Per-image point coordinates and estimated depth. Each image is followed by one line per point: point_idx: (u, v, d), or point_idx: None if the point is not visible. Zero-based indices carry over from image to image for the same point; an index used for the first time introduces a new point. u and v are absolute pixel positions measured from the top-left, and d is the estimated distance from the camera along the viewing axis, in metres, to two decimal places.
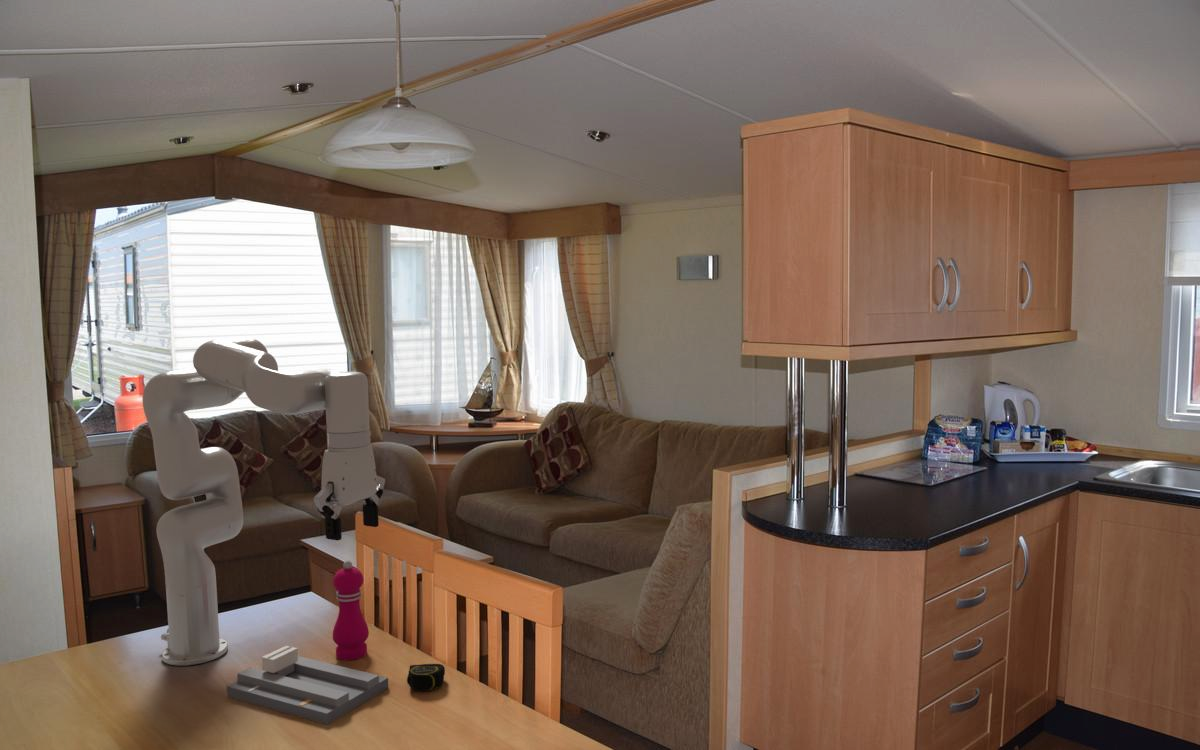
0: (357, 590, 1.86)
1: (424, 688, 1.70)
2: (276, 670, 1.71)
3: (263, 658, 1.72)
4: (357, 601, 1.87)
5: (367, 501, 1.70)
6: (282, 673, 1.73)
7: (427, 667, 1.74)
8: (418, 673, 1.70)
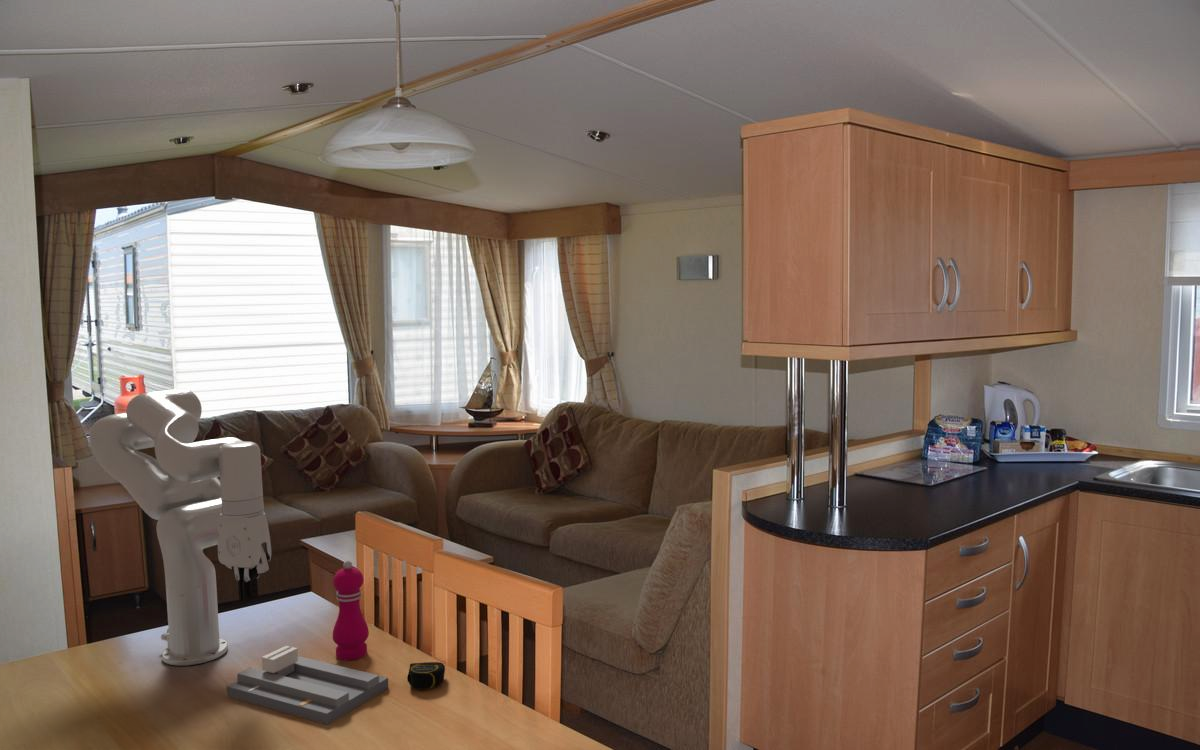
0: (357, 590, 1.86)
1: (424, 686, 1.70)
2: (276, 670, 1.71)
3: (263, 658, 1.72)
4: (357, 601, 1.87)
5: (242, 573, 1.76)
6: (282, 673, 1.73)
7: (427, 665, 1.74)
8: (419, 672, 1.71)
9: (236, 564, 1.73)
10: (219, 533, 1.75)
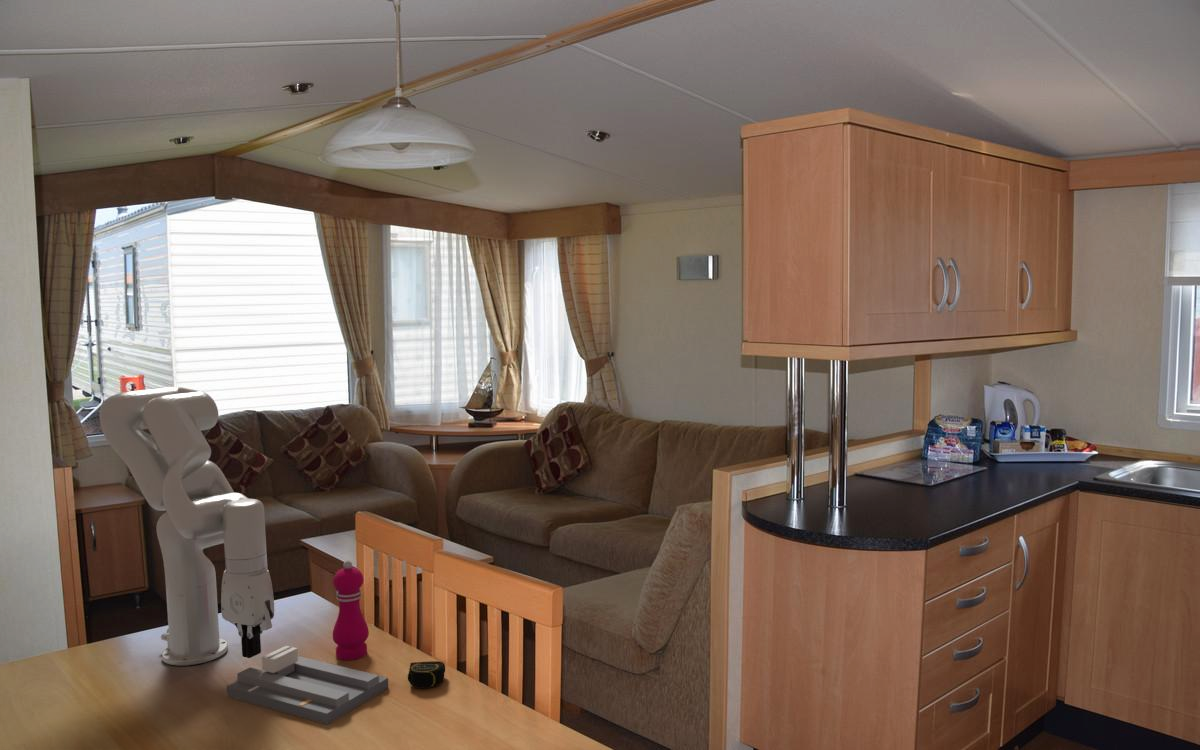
0: (357, 590, 1.86)
1: (425, 685, 1.71)
2: (276, 670, 1.71)
3: (263, 658, 1.72)
4: (357, 601, 1.87)
5: (245, 629, 1.77)
6: (282, 673, 1.73)
7: (428, 664, 1.75)
8: (419, 671, 1.72)
9: (239, 621, 1.74)
10: (223, 590, 1.76)
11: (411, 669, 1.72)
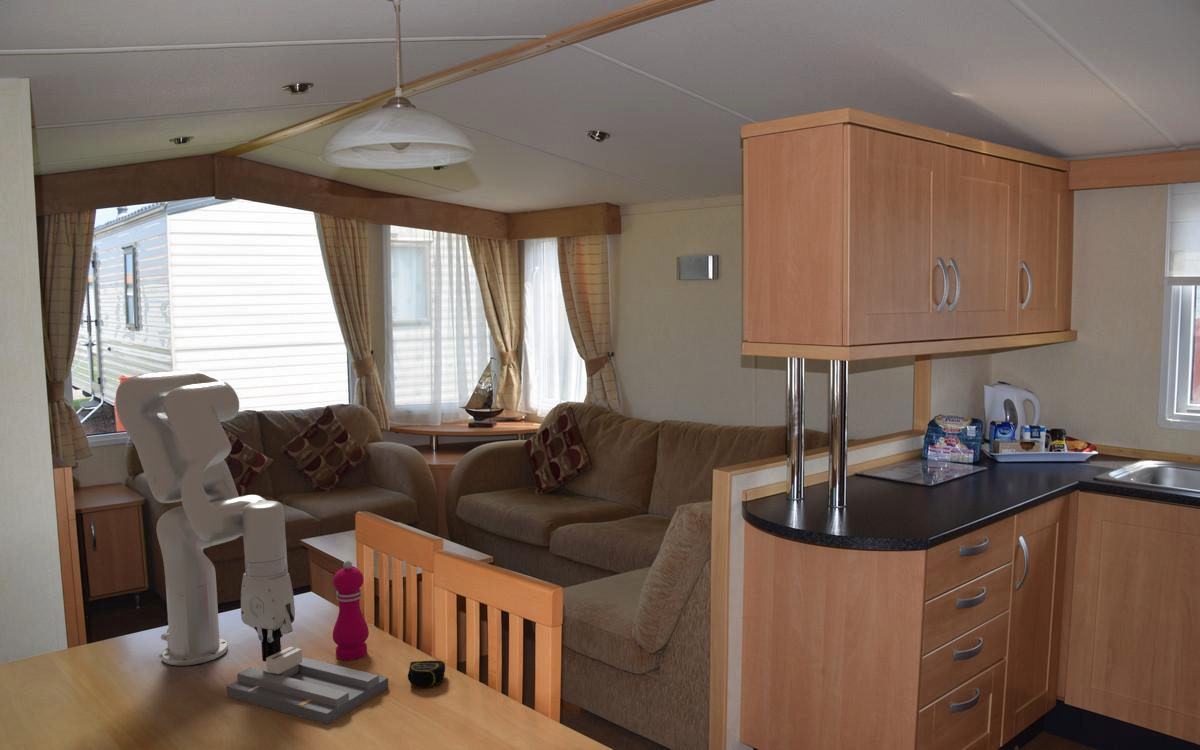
0: (357, 590, 1.86)
1: (425, 684, 1.71)
2: (280, 671, 1.71)
3: (267, 659, 1.71)
4: (357, 601, 1.87)
5: (265, 633, 1.74)
6: (286, 674, 1.72)
7: (428, 664, 1.75)
8: (419, 670, 1.72)
9: (260, 625, 1.72)
10: (242, 593, 1.73)
11: (411, 668, 1.73)
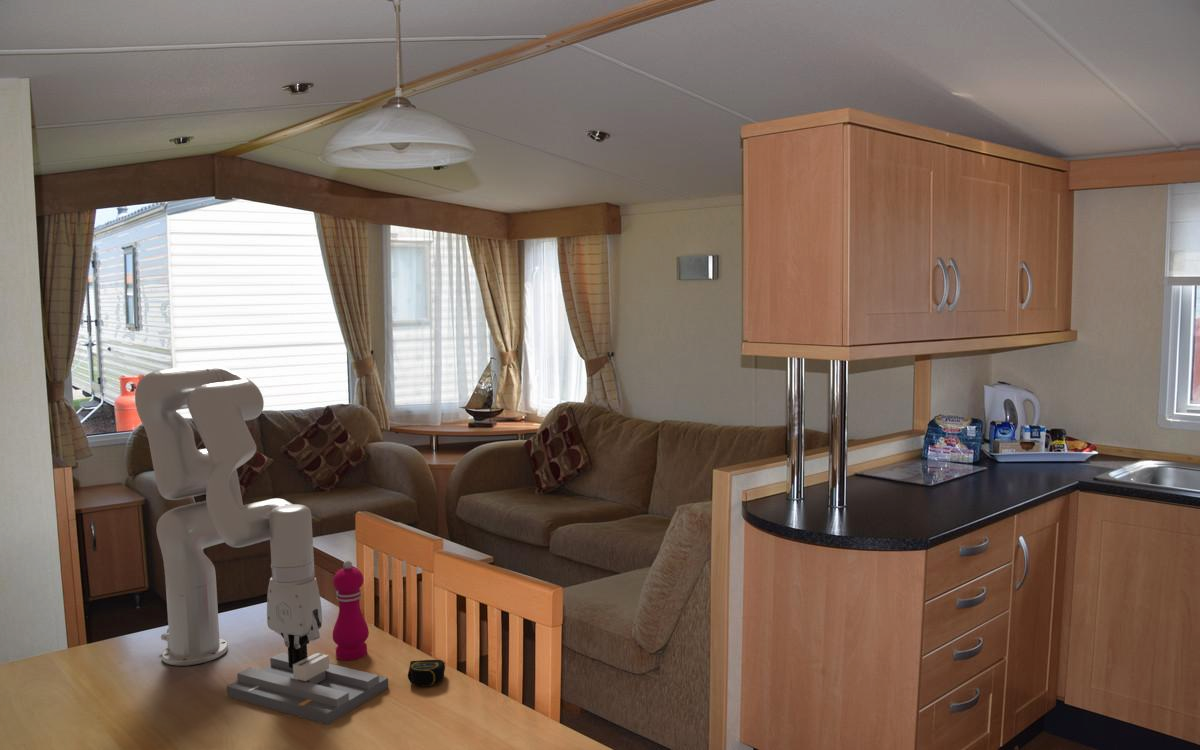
0: (357, 590, 1.86)
1: (424, 684, 1.72)
2: (307, 678, 1.68)
3: (294, 666, 1.68)
4: (357, 601, 1.87)
5: (291, 639, 1.71)
6: (313, 681, 1.69)
7: (427, 663, 1.75)
8: (419, 669, 1.72)
9: (286, 631, 1.68)
10: (269, 599, 1.70)
11: (411, 667, 1.73)
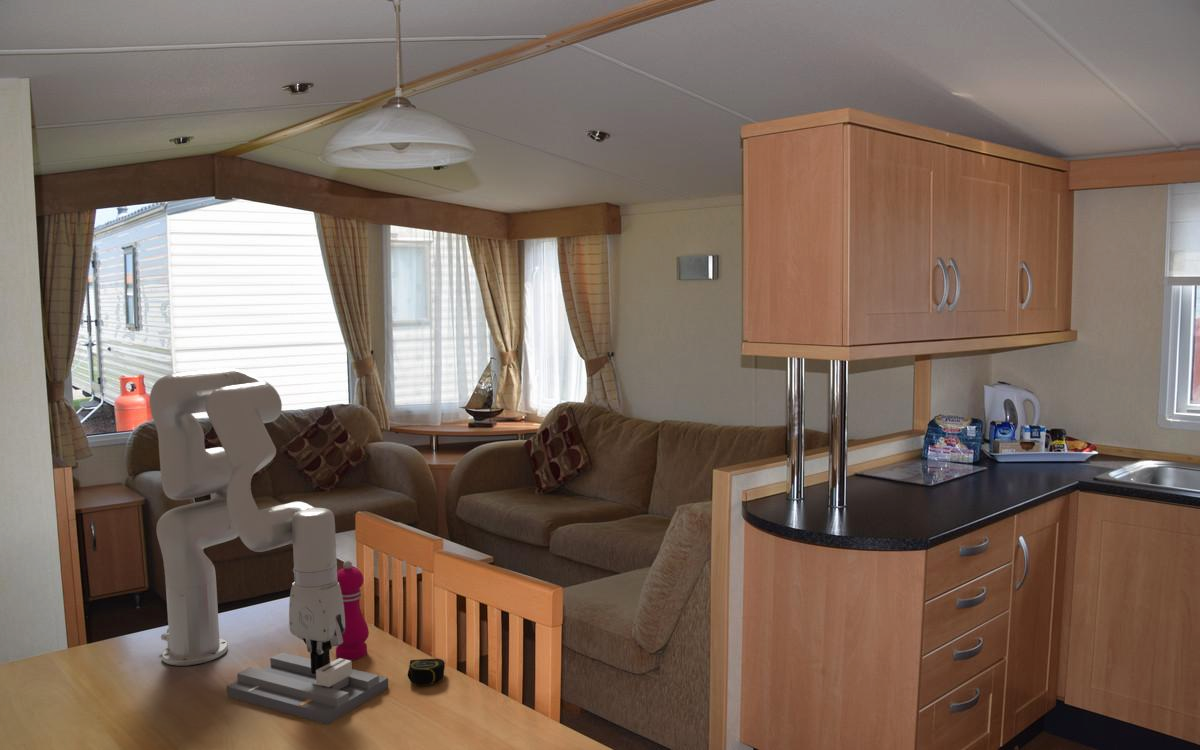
0: (357, 590, 1.86)
1: (424, 682, 1.72)
2: (331, 684, 1.65)
3: (317, 671, 1.65)
4: (357, 601, 1.87)
5: (314, 645, 1.69)
6: (336, 687, 1.66)
7: (427, 662, 1.76)
8: (419, 668, 1.73)
9: (309, 637, 1.66)
10: (291, 603, 1.67)
11: (411, 666, 1.74)
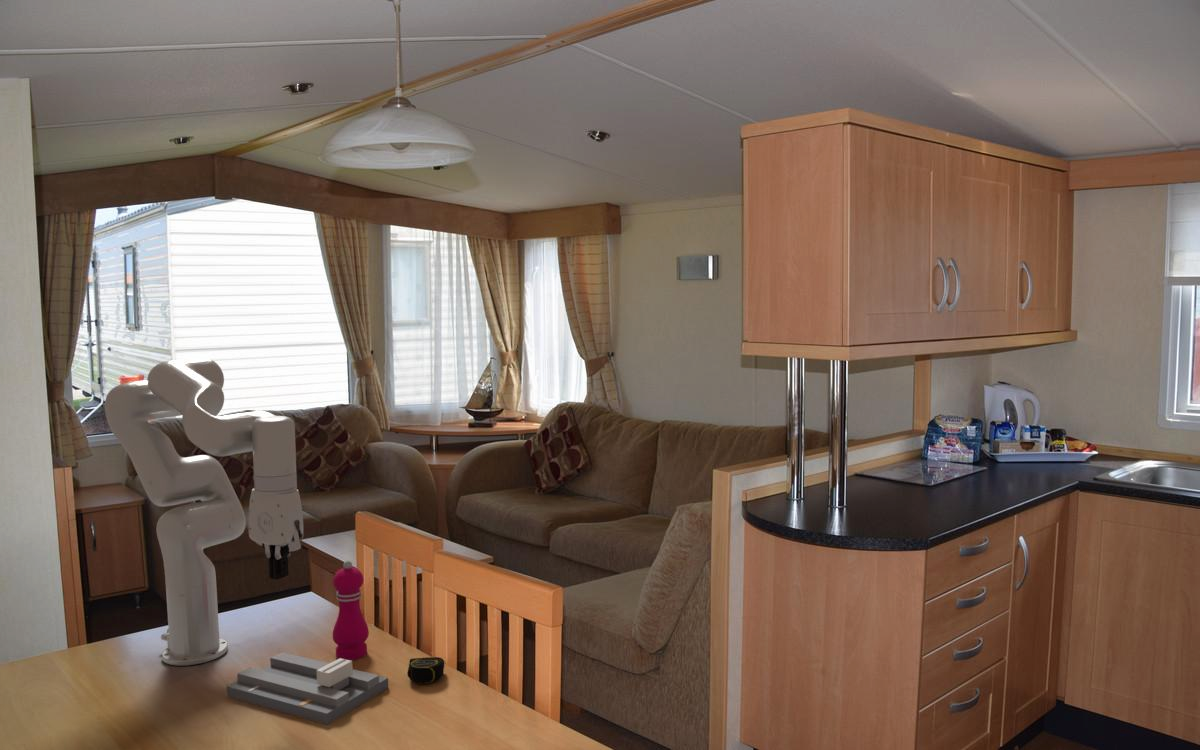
0: (357, 590, 1.86)
1: (424, 681, 1.73)
2: (331, 684, 1.65)
3: (318, 671, 1.65)
4: (357, 601, 1.87)
5: (272, 550, 1.71)
6: (337, 687, 1.66)
7: (427, 660, 1.77)
8: (419, 666, 1.74)
9: (267, 541, 1.68)
10: (250, 509, 1.70)
11: (411, 665, 1.74)
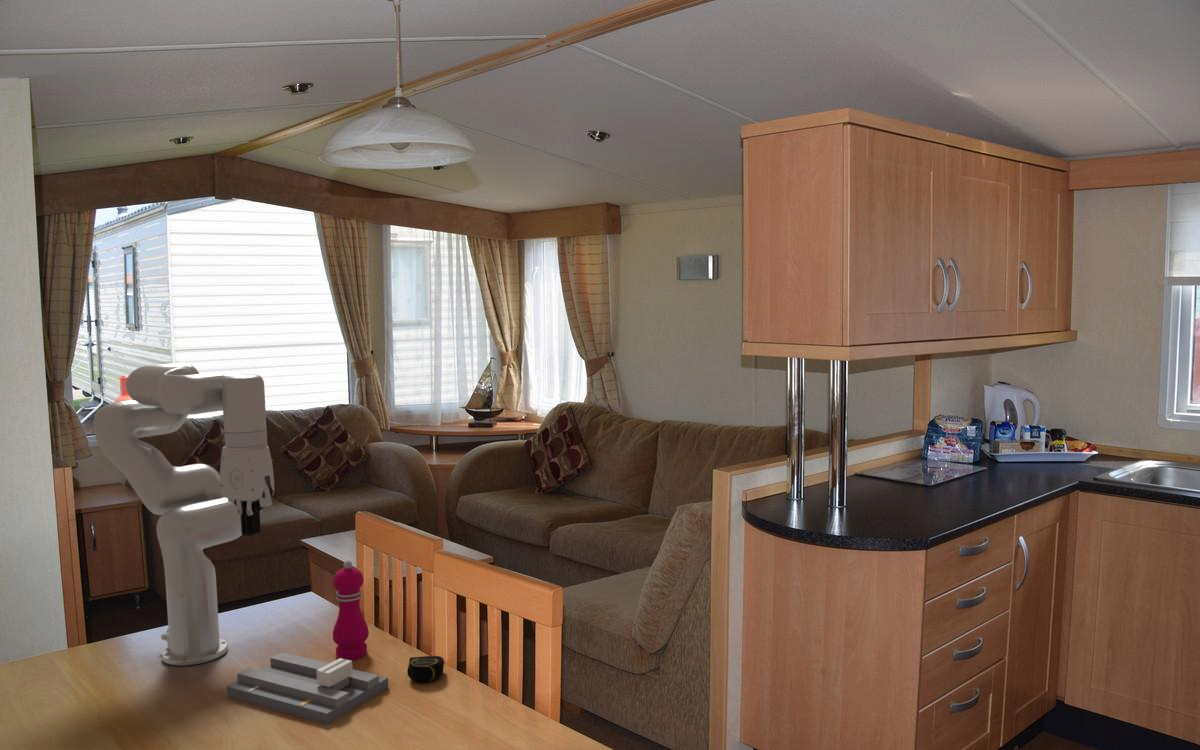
0: (357, 590, 1.86)
1: (424, 679, 1.73)
2: (331, 684, 1.65)
3: (318, 671, 1.65)
4: (357, 601, 1.87)
5: (244, 507, 1.74)
6: (337, 687, 1.66)
7: (427, 659, 1.77)
8: (419, 665, 1.74)
9: (239, 497, 1.71)
10: (222, 466, 1.73)
11: (411, 663, 1.75)
